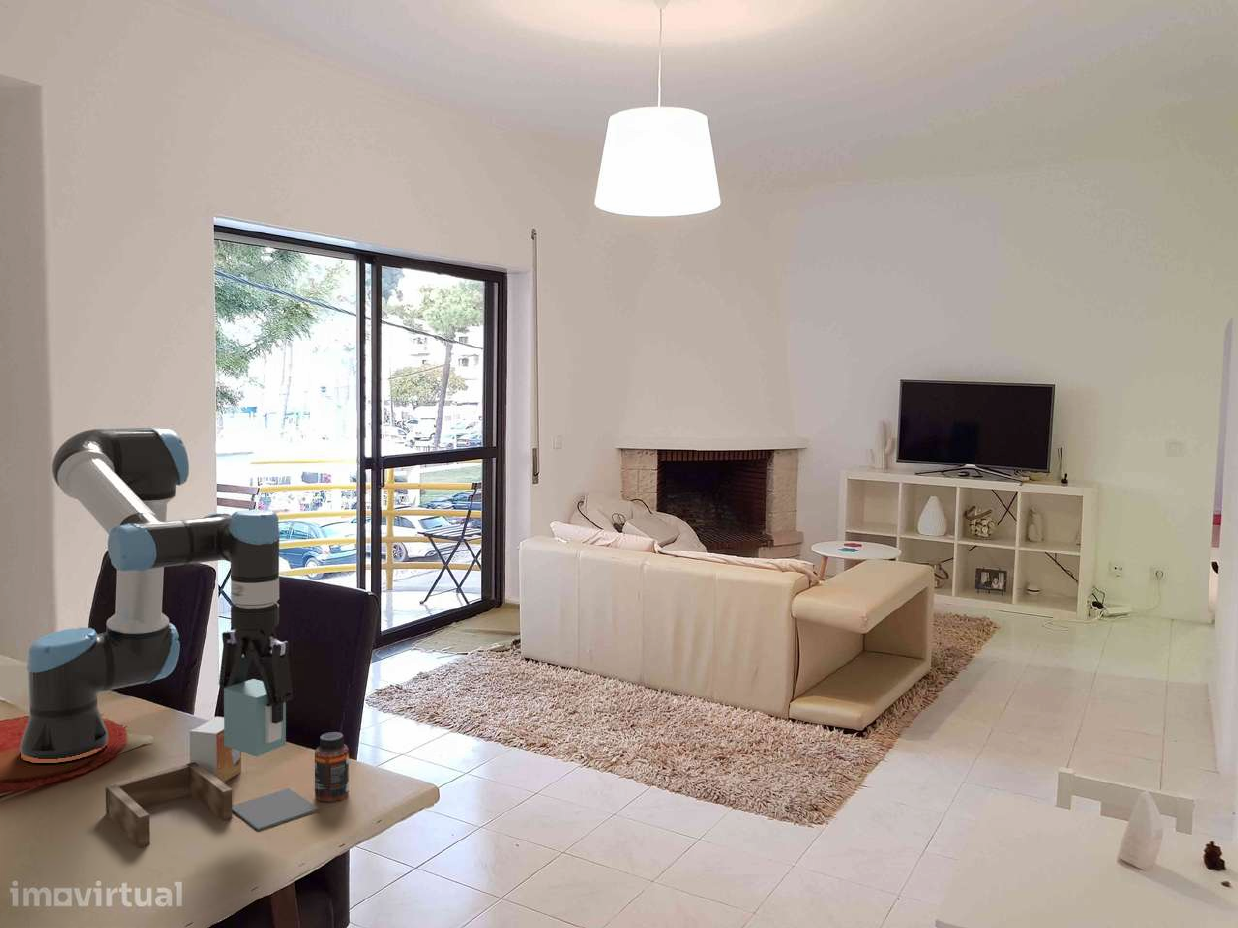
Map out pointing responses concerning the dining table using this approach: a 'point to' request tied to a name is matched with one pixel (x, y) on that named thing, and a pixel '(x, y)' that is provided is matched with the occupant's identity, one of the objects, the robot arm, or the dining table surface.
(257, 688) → the block
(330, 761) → the supplement bottle
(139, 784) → the frame
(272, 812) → the mat
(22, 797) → the dining table surface
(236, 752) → the small box
